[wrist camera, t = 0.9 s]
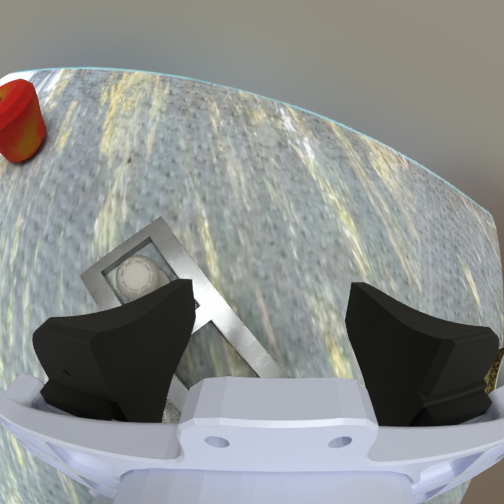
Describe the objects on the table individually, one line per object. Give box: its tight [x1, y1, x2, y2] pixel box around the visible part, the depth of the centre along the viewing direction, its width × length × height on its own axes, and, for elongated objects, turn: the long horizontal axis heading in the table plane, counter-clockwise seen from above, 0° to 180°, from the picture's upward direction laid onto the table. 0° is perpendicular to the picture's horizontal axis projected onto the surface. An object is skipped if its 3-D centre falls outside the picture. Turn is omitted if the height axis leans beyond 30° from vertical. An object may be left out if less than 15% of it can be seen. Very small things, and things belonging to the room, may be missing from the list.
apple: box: [0, 79, 46, 162], centre depth 19 cm, size 9×8×12 cm
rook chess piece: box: [116, 255, 171, 302], centre depth 21 cm, size 4×4×8 cm
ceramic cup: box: [484, 348, 504, 395], centre depth 25 cm, size 13×10×10 cm
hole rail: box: [80, 217, 289, 414], centre depth 23 cm, size 10×29×2 cm, turn 39°
